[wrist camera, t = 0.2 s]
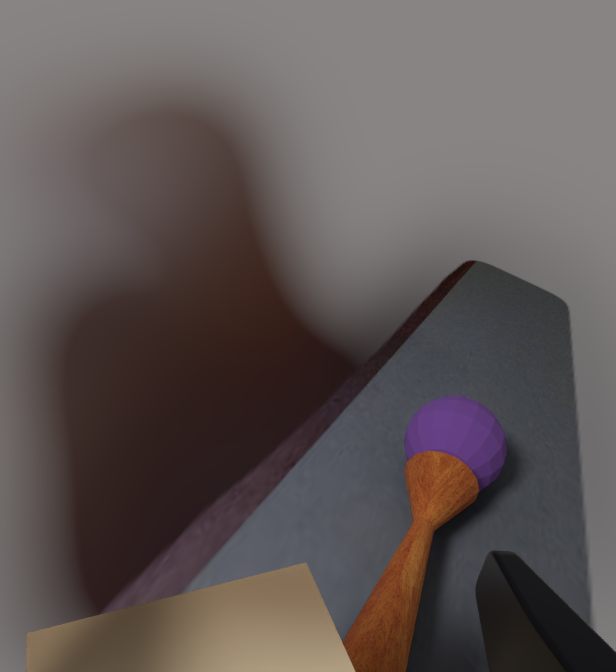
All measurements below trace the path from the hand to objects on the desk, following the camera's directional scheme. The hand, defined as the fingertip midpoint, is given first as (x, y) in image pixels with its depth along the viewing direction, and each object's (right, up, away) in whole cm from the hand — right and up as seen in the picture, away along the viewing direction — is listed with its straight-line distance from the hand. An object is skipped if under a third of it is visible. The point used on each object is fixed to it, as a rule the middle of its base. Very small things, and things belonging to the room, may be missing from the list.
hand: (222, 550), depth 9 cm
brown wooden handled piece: (+7, -9, +21) cm, 24 cm away
